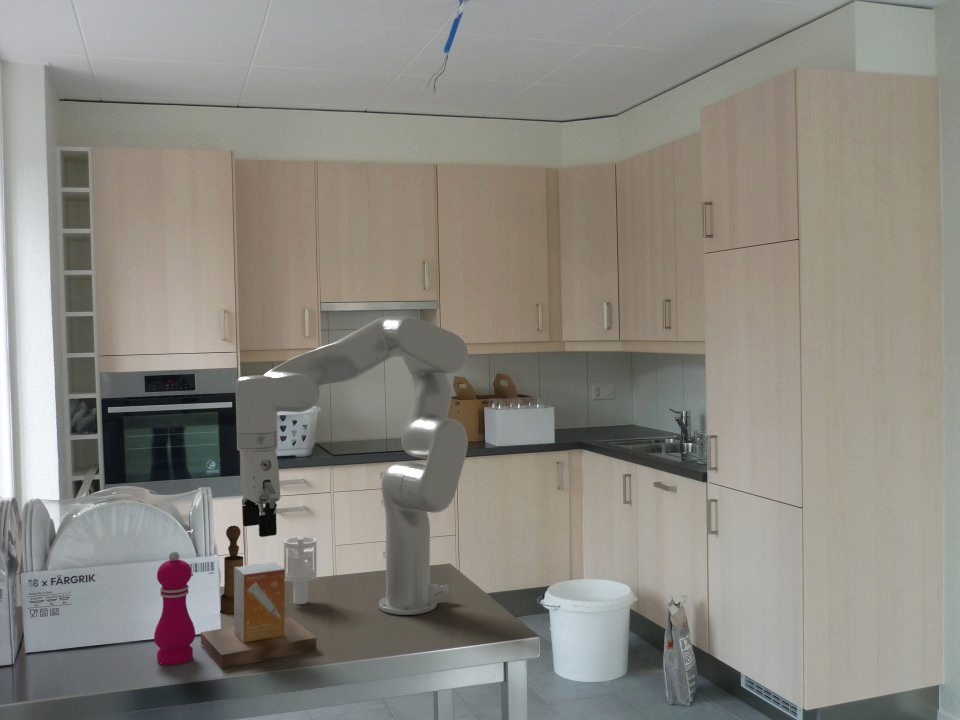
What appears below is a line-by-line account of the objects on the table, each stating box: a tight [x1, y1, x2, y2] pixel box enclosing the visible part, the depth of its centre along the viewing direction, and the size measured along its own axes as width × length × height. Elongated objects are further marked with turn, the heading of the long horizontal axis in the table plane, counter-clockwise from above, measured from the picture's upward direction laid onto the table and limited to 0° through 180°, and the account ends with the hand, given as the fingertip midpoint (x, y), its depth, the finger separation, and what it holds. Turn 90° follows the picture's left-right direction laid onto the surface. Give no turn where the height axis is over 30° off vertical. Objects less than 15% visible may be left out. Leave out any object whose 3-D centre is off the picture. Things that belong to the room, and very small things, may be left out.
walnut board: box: [200, 616, 317, 669], centre depth 176 cm, size 18×14×2 cm
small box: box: [233, 561, 286, 643], centre depth 176 cm, size 8×6×13 cm
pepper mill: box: [153, 551, 196, 666], centre depth 170 cm, size 7×7×20 cm
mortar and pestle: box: [220, 525, 244, 614], centre depth 200 cm, size 7×6×18 cm
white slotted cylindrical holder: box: [283, 535, 318, 605], centre depth 205 cm, size 7×7×15 cm
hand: (259, 530), depth 176 cm, fingers open, 9 cm apart
